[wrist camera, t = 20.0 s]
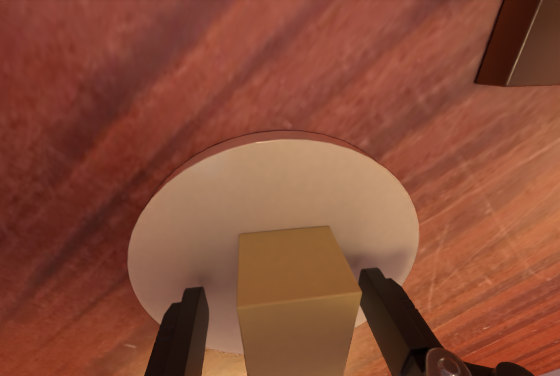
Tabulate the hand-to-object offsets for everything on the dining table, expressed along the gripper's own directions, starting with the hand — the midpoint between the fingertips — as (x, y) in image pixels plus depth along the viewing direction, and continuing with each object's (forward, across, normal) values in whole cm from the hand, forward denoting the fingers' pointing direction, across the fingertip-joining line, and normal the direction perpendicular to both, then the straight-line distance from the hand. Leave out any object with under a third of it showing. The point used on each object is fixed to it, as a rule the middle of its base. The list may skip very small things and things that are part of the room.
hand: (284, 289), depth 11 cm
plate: (+2, 0, 0) cm, 2 cm away
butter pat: (+1, 0, 0) cm, 1 cm away
